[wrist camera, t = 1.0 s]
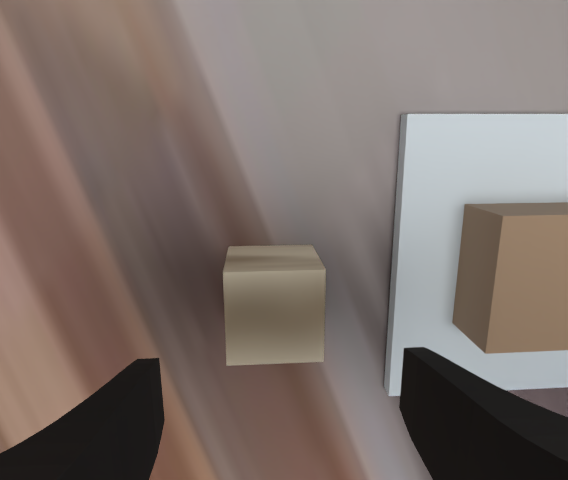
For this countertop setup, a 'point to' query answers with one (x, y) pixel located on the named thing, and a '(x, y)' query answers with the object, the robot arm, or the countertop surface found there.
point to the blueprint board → (435, 223)
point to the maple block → (274, 305)
